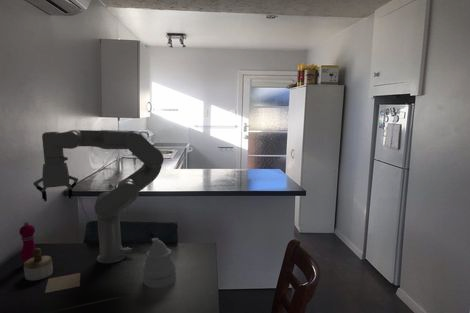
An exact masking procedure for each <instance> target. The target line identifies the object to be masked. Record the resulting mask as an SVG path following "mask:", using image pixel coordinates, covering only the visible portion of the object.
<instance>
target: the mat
mask: <svg viewBox="0 0 470 313" xmlns="http://www.w3.org/2000/svg"><path fill="white" fill-rule="evenodd" d="M80 286H81V272H78V273H77V272H76V273H72V274H67V275H66V274H65V275H62V276H57V277H51V278H48V279H47V283H46V286H45V292H44V294H46V293H52V292H57V291H63V290H67V289H72V288H78V287H80Z"/></svg>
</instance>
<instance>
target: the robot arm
mask: <svg viewBox="0 0 470 313" xmlns="http://www.w3.org/2000/svg"><path fill="white" fill-rule="evenodd" d="M41 138H42V139H41V140H42V149H43V151H42V152H43V160H44V164H43V165H42V177H41V178H39V179H38V180H35V181H34V182H33V186H34V187H35V188H36V190H38V191H39V192H40V193H41V197H42V200H43V202H47V200H48V197H47V191H46V190H47V188H58V187H59V188H60V187H67V188H68V190H67V192H68V199H69V200H70V199H72V197H73V189H74V187H75V186H77V183H78V181H79V178H78V177H75V176H72V175H69V174H70V173H69V168H68V165H67V164H68V163H67V162H65V161H69V158H68V156H67V157H66V156H65V155H64V149H65V150H66V149H68V150H69V149H70V150H72V149H75V148H78V147H90V148H91V147H92V148H93V147H95V148H98V149H99V148H100V149H103V150H128V151H130V152H131V153H132V154H133V156H135V157H136V158H137V159H138V160H139V161H141V163H143V164H142V165H141V167H139V168H138V169H137V170H135V171H134V172H133V173H131V174H130V175H129V176H127V177H125V178H124V179H122V180H120V181H119V182H118V184H117V186H116V187H115V188H114V189H112V190H111V191H110V190H109V191H107V190H106V191H103V192H101V193H100V194H99V195H98V196H97V198H96V200H95V204H94V208H93V210H94V212H95V215H96V216H97V232H98V243H99V255H98V256H97V257H96V261H97V262H98V263H100V264H113V263H119V262H121V261H123V260H124V259H125V258H126V256H127V255H126V254H127V253H128V254H129V253H133V248H132V247H128V246H127V247H123V245H122V235H121V221H120V220H121V219H120V212H122V211H123V210H124V209H126V208H127V207H129V206H130V205H131V204H134V202H135V201H136V200H138V199H137V198H138V197H139V193H140V192H141V191H142V190H144V189H145V188H147V187H148V186H149V185H150V184H152V183H153V181H155V180H156V179H157V177H158V176H159V175H160V172H161V170H162V166H163V163H164V155H163V153H162V151H161V150H160V149H159V148H157V147H155V146H154V145H153V144H152V143H150V141H148V140H147V139H146V137H145V136H144V135H143V134H142V133H141V132H139V131H137V130H118V129H117V130H114V129H112V130H108V129H107V130H106V129H104V130H103V129H100V130H94V129H93V130H92V129H91V130H89V129H88V130H85V129H73V130H68V131H64V132H59V131H47V132H46V131H45V132H43V133H42V135H41ZM70 180H71V181H73V183H72V184H70ZM40 183H42V186H43V187H42V186H40V185H39V184H40Z"/></svg>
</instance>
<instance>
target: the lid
mask: <svg viewBox="0 0 470 313" xmlns="http://www.w3.org/2000/svg"><path fill="white" fill-rule="evenodd" d="M41 250H42V249H41V247H36V248H35V249H33V256H34V257H33V258H31V259H28V260H27V261H25V262H24V267H25V268H27V269H36V268H41V267H44V266H46V265H48V264H50V263H51V262H52V263H53V259H52V257H51V256H50V255H42V251H41ZM24 267H23V268H24Z"/></svg>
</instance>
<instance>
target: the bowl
mask: <svg viewBox="0 0 470 313" xmlns="http://www.w3.org/2000/svg"><path fill="white" fill-rule="evenodd" d="M23 271H24V272H23V273H24V278H25V280H27V281H39V280H42V279H45V278H48V277H50V276H51V275H52V274H53V272H54V271H53V261H52V262H51V263H50V264H48V265H46V266H44V267H41V268H36V269H27V268H25V267H23Z"/></svg>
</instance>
